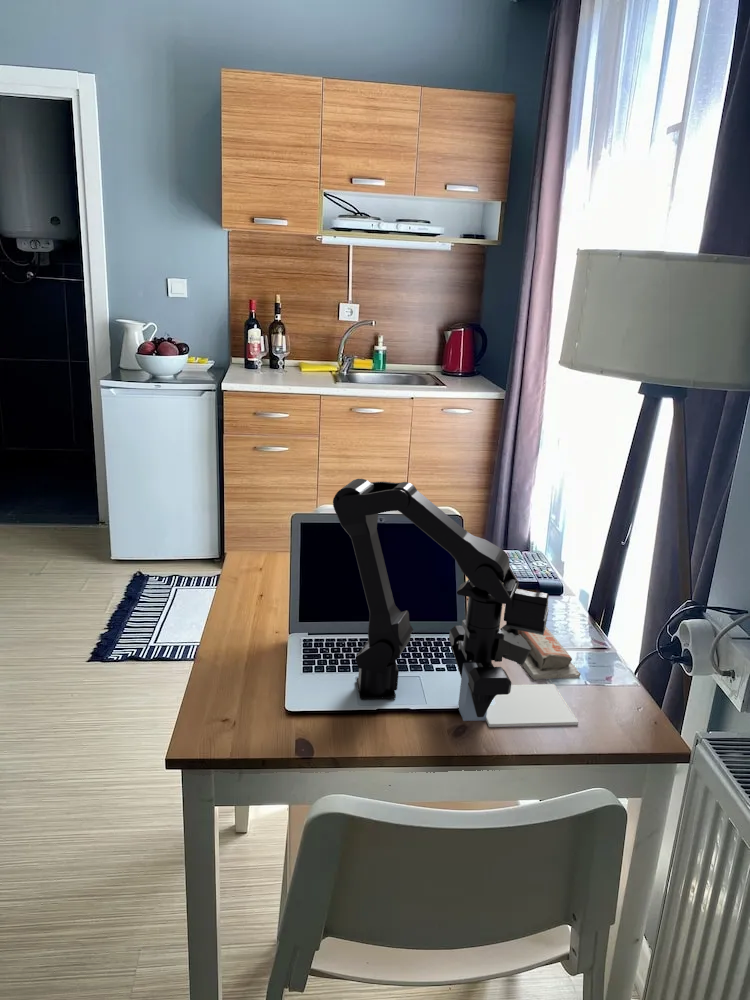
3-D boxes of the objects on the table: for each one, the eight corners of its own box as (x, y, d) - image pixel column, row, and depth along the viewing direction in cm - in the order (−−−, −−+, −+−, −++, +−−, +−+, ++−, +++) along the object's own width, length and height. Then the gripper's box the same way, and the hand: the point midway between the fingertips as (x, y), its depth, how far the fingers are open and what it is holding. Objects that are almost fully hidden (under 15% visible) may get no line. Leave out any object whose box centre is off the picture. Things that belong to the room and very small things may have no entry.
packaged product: (502, 615, 161) (546, 614, 163) (499, 636, 163) (543, 634, 165) (535, 659, 145) (584, 657, 147) (532, 682, 146) (580, 679, 148)
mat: (488, 727, 130) (489, 724, 130) (471, 688, 142) (471, 685, 142) (577, 724, 133) (578, 721, 133) (553, 687, 144) (554, 684, 144)
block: (463, 720, 132) (468, 675, 129) (458, 707, 136) (463, 662, 133) (485, 720, 132) (491, 674, 130) (479, 707, 136) (485, 662, 133)
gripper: (547, 648, 121) (535, 732, 126) (512, 596, 138) (502, 672, 143) (479, 649, 119) (469, 734, 124) (452, 596, 137) (444, 672, 141)
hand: (473, 701), depth 133 cm, fingers open, 9 cm apart
